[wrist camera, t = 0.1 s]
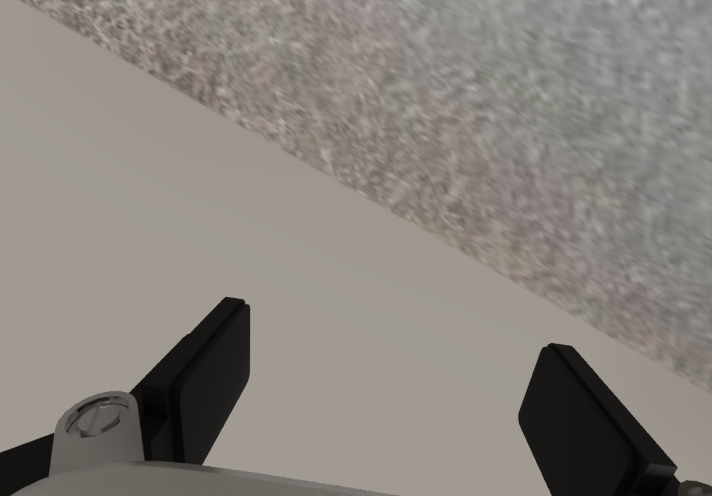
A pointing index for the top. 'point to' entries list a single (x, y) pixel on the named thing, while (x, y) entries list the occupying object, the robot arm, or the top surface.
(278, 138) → the top surface
